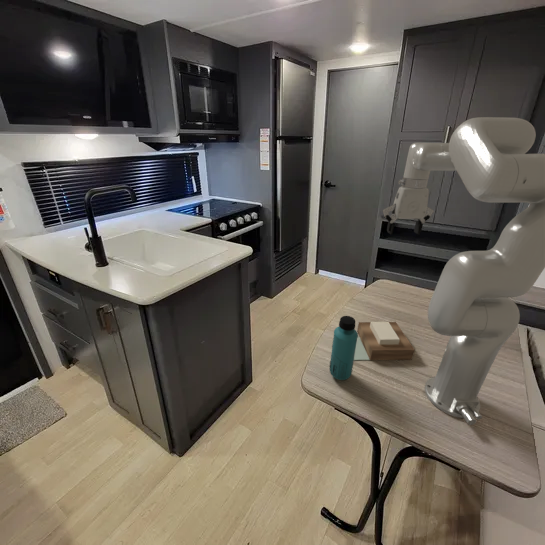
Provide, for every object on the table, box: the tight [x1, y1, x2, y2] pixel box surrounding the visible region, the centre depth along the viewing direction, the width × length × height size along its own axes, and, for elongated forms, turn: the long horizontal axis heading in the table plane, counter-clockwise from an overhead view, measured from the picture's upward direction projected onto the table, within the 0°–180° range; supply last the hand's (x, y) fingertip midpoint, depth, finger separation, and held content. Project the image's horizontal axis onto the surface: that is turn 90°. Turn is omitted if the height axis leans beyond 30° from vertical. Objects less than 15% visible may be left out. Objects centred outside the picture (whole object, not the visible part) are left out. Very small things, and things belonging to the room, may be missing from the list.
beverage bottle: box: [329, 315, 359, 381], centre depth 78 cm, size 6×7×20 cm
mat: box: [354, 335, 371, 361], centre depth 93 cm, size 11×7×1 cm, turn 1°
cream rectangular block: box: [370, 321, 400, 345], centre depth 92 cm, size 9×6×2 cm, turn 1°
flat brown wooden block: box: [356, 321, 416, 361], centre depth 94 cm, size 14×13×4 cm
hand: (403, 233), depth 102 cm, fingers open, 9 cm apart
